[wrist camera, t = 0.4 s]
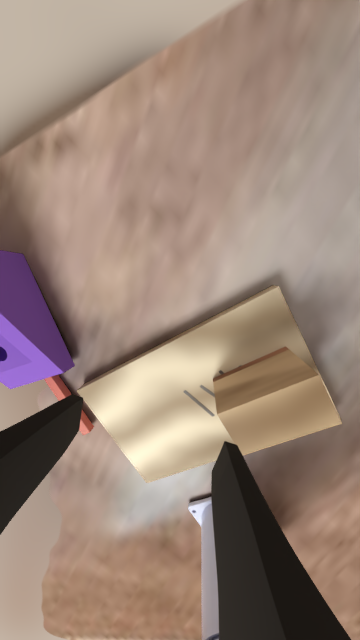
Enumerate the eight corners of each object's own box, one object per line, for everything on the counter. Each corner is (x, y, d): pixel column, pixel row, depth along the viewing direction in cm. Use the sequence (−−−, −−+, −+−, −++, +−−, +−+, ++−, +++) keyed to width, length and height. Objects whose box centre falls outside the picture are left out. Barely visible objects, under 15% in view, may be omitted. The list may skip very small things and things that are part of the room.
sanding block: (304, 383, 16) (342, 423, 12) (232, 410, 18) (242, 455, 13) (285, 346, 15) (319, 374, 11) (212, 378, 17) (216, 414, 13)
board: (332, 410, 18) (341, 419, 17) (149, 472, 23) (146, 483, 21) (272, 285, 16) (278, 286, 14) (83, 384, 20) (76, 391, 19)
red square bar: (94, 426, 21) (89, 432, 20) (87, 429, 21) (83, 435, 21) (49, 361, 20) (42, 364, 19) (42, 365, 20) (36, 368, 20)
